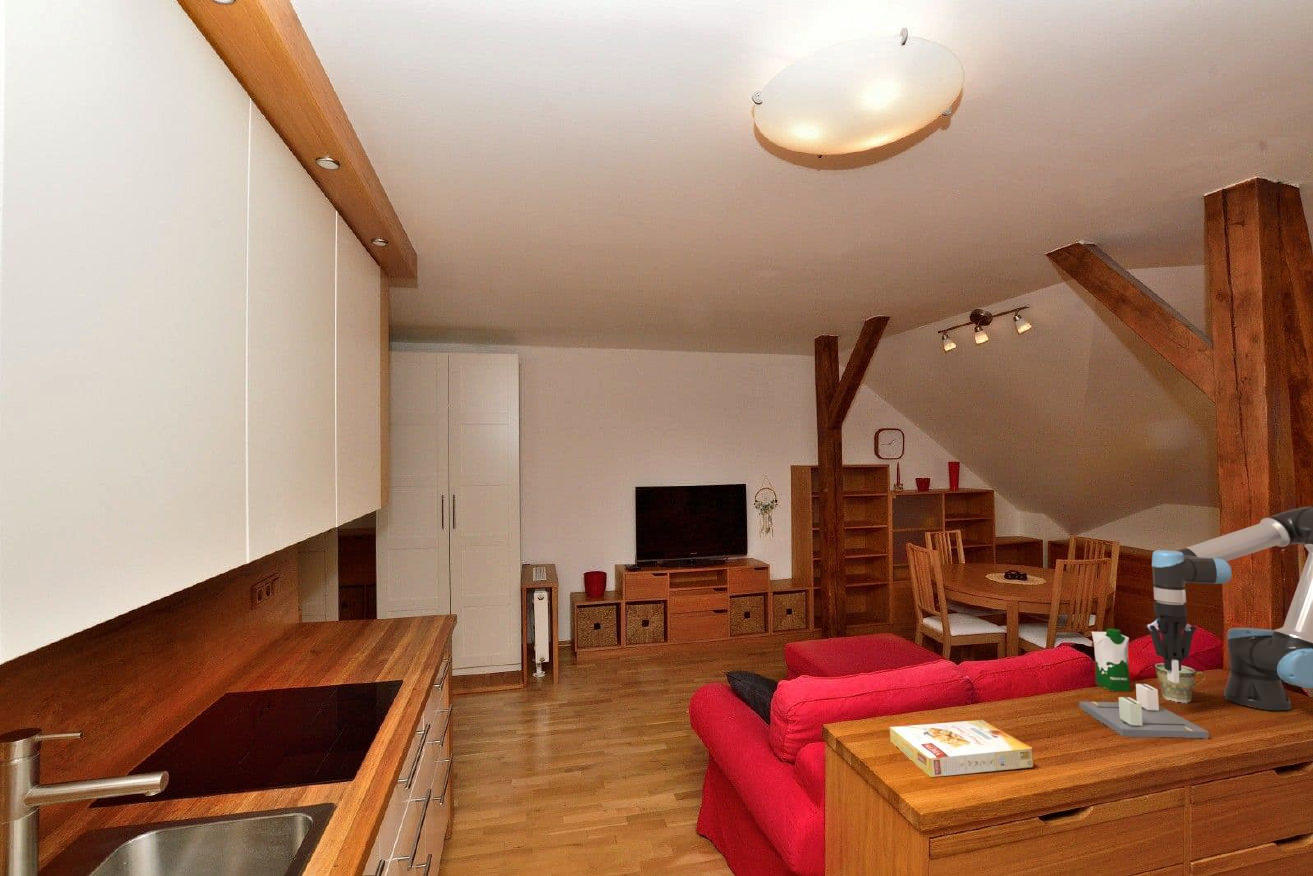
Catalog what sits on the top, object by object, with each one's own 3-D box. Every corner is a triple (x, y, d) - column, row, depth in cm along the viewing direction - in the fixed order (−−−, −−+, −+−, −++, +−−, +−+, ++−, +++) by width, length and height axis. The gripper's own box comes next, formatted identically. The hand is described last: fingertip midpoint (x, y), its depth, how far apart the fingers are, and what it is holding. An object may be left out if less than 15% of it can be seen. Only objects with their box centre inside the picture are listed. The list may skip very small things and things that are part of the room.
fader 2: (1147, 704, 188) (1146, 683, 188) (1158, 710, 183) (1157, 689, 183) (1136, 703, 188) (1135, 683, 189) (1148, 710, 183) (1146, 689, 184)
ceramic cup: (1166, 703, 194) (1164, 671, 195) (1150, 692, 204) (1149, 662, 205) (1216, 707, 191) (1213, 674, 191) (1198, 696, 200) (1196, 665, 201)
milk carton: (1107, 692, 205) (1104, 631, 206) (1090, 683, 214) (1087, 624, 215) (1135, 693, 204) (1131, 631, 205) (1117, 683, 213) (1114, 625, 214)
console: (1155, 710, 189) (1155, 703, 190) (1209, 739, 169) (1208, 731, 169) (1079, 708, 192) (1079, 701, 192) (1122, 736, 171) (1122, 729, 171)
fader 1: (1130, 718, 177) (1129, 696, 178) (1142, 725, 172) (1141, 703, 173) (1119, 718, 178) (1118, 696, 178) (1131, 725, 173) (1129, 703, 173)
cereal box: (1034, 747, 154) (930, 756, 150) (1035, 770, 153) (931, 779, 149) (980, 717, 174) (887, 724, 170) (981, 737, 173) (888, 745, 169)
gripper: (1184, 600, 190) (1187, 678, 188) (1138, 599, 191) (1141, 676, 190) (1202, 605, 182) (1206, 686, 181) (1155, 604, 184) (1158, 684, 182)
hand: (1173, 681), depth 185 cm, fingers closed
